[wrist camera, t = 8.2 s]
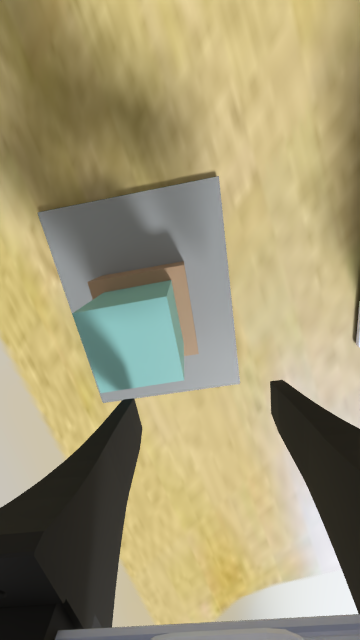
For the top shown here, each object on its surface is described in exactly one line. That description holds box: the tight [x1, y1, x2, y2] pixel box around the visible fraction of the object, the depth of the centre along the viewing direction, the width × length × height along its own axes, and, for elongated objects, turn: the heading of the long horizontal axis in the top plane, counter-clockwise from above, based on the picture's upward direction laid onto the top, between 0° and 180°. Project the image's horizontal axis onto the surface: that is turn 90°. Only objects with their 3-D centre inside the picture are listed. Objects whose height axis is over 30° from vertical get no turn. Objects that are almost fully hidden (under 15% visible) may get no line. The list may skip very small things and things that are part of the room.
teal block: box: [72, 280, 184, 393], centre depth 15 cm, size 5×5×5 cm
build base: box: [38, 176, 240, 403], centre depth 19 cm, size 14×18×4 cm
